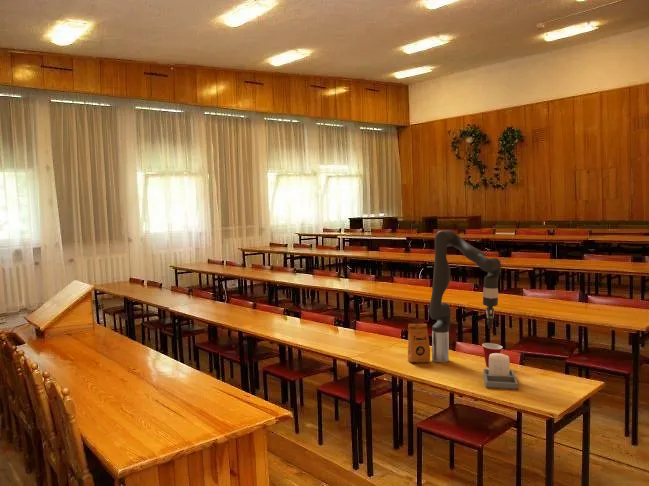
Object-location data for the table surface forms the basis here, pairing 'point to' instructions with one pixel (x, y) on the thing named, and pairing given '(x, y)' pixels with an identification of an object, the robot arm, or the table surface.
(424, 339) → the coffee package
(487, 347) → the plastic cup
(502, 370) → the beige rounded slab
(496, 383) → the grey divided tray
